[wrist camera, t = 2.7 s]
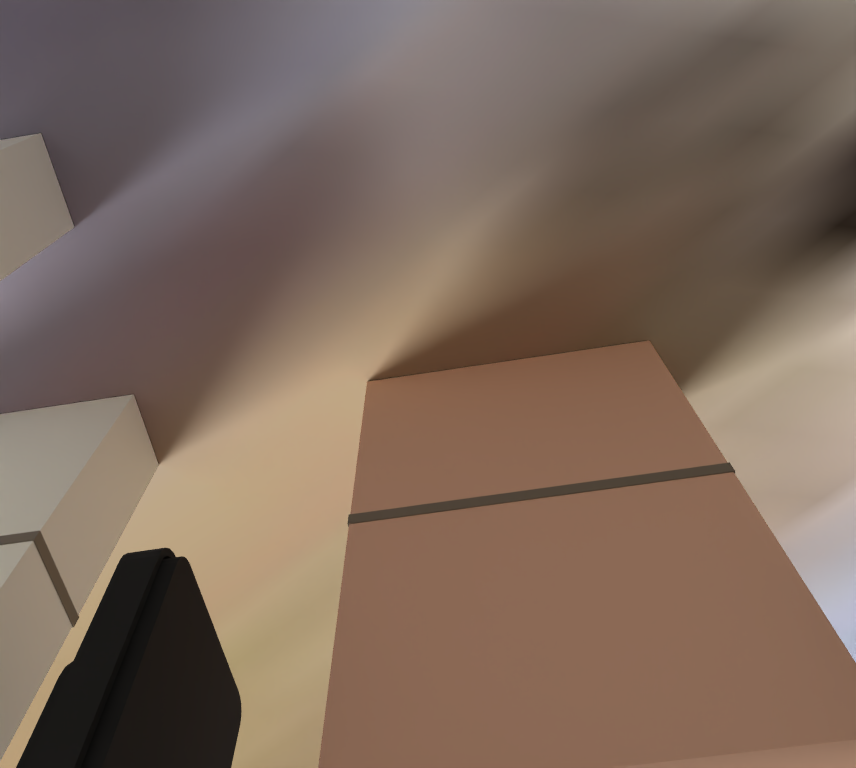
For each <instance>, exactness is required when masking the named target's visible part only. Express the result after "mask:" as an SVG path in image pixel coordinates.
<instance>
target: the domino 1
mask: <svg viewBox="0 0 856 768" xmlns="http://www.w3.org/2000/svg"><path fill="white" fill-rule="evenodd" d="M73 228H74V225H73V222H72V219H71V216H70V213H69V211H68V208H67V205H66V202H65V199H64V197H63V194H62V191H61V188H60V185H59V182H58V180H57V177H56V174H55V171H54V168H53V166H52V163H51V160H50V157H49V154H48V152H47V149H46V146H45V143H44V140H43V137H42V135H41V133H39V134H33V135H27V136H21V137H15V138H9V139H3V140H0V281H1V280H2V279H4V278H5V277H7V276H8V275H9V274H11V273H12V272H13V271H15V270H16V269H18V268H19V267H20V266H22V265H23V264H24V263H26V262H27V261H29V260H30V259H31V258H33V257H34V256H35V255H37V254H38V253H40V252H41V251H42V250H44V249H45V248H47V247H48V246H49V245H51V244H52V243H53V242H55V241H56V240H58V239H59V238H60V237H62V236H63V235H64V234H66V233H67V232H69V231H70V230H71V229H73Z"/></svg>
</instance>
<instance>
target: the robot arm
mask: <svg viewBox="0 0 856 768" xmlns="http://www.w3.org/2000/svg"><path fill="white" fill-rule="evenodd" d="M240 722H241V700H240V695H239V691H238V689H237V686H236V684H235V681H234V678H233V676H232V673H231V671H230V668H229V665H228V663H227V660H226V657H225V655H224V652H223V650H222V647H221V644H220V642H219V639H218V637H217V634H216V631H215V629H214V626H213V623H212V621H211V618H210V616H209V613H208V610H207V608H206V605H205V603H204V600H203V597H202V595H201V592H200V589H199V587H198V584H197V582H196V579H195V576H194V574H193V571H192V569H191V566H190V564H189V562H188V560H187V559H186V558H185V557H175V555H174V553H173V552H172V551H171V550H170V549H169V548H161V549H154V550H147V551H140V552H132V553H127V554H125V555H123V556H122V558H121V559H120V561H119V563H118V565H117V568H116V570H115V572H114V574H113V576H112V578H111V581H110V583H109V585H108V587H107V589H106V591H105V594H104V596H103V598H102V600H101V602H100V604H99V607H98V609H97V611H96V613H95V615H94V618H93V620H92V622H91V624H90V626H89V628H88V631H87V633H86V635H85V637H84V639H83V641H82V644H81V646H80V648H79V650H78V652H77V655H76V657H75V659H74V661H73V662H71V663H70V664H69V665H67V666H66V667H65V668H64V670H63V671H62V673H61V675H60V676H59V678H58V680H57V682H56V684H55V686H54V688H53V690H52V693H51V695H50V697H49V699H48V701H47V703H46V705H45V707H44V710H43V712H42V714H41V716H40V718H39V720H38V722H37V724H36V727H35V729H34V731H33V733H32V735H31V737H30V739H29V742H28V744H27V746H26V748H25V750H24V752H23V754H22V756H21V759H20V761H19V763H18V765H17V767H16V768H231V765H232V760H233V755H234V751H235V746H236V741H237V736H238V732H239V727H240Z"/></svg>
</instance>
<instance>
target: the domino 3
mask: <svg viewBox="0 0 856 768" xmlns="http://www.w3.org/2000/svg"><path fill="white" fill-rule="evenodd" d="M348 527H349V530H348V537H347V545H346V553H345V561H344V569H343V577H342V585H341V593H340V601H339V608H338V616H337V624H336V632H335V640H334V648H333V656H332V664H331V672H330V679H329V687H328V695H327V703H326V711H325V719H324V727H323V735H322V743H321V751H320V758H319V766H318V768H856V663H855V661H854V660H853V658H852V656H851V655H850V653H849V652H848V650H847V649H846V647H845V645H844V644H843V642H842V641H841V639H840V638H839V636H838V635H837V633H836V631H835V630H834V628H833V627H832V625H831V624H830V622H829V620H828V619H827V617H826V616H825V614H824V613H823V611H822V610H821V608H820V606H819V605H818V603H817V602H816V600H815V599H814V597H813V595H812V594H811V592H810V591H809V589H808V588H807V586H806V585H805V583H804V581H803V580H802V578H801V577H800V575H799V574H798V572H797V570H796V569H795V567H794V566H793V564H792V563H791V561H790V560H789V558H788V556H787V555H786V553H785V552H784V550H783V549H782V547H781V545H780V544H779V542H778V541H777V539H776V538H775V536H774V534H773V533H772V531H771V530H770V528H769V527H768V525H767V524H766V522H765V520H764V519H763V517H762V516H761V514H760V513H759V511H758V509H757V508H756V506H755V505H754V503H753V502H752V500H751V499H750V497H749V495H748V494H747V492H746V491H745V489H744V488H743V486H742V484H741V483H740V481H739V480H738V478H737V477H736V475H735V470H734V469H733V467H732V466H731V464H730V462H729V463H727V461H726V459H725V458H724V456H723V455H722V453H721V452H720V450H719V449H718V447H717V445H716V444H715V442H714V441H713V439H712V438H711V436H710V434H709V433H708V431H707V430H706V428H705V427H704V425H703V424H702V422H701V420H700V419H699V417H698V416H697V414H696V413H695V411H694V409H693V408H692V406H691V405H690V403H689V402H688V400H687V399H686V397H685V395H684V394H683V392H682V391H681V389H680V388H679V386H678V384H677V383H676V381H675V380H674V378H673V377H672V375H671V373H670V372H669V370H668V369H667V367H666V366H665V364H664V363H663V361H662V359H661V358H660V356H659V355H658V353H657V352H656V350H655V348H654V347H653V345H652V344H651V342H650V341H642V342H635V343H628V344H621V345H614V346H608V347H601V348H594V349H587V350H580V351H573V352H567V353H560V354H553V355H546V356H539V357H532V358H526V359H519V360H512V361H505V362H498V363H491V364H485V365H478V366H471V367H464V368H457V369H450V370H444V371H437V372H430V373H423V374H416V375H409V376H403V377H396V378H389V379H382V380H375V381H368V382H367V388H366V395H365V403H364V411H363V419H362V427H361V435H360V443H359V451H358V459H357V466H356V474H355V482H354V490H353V498H352V506H351V514H349V517H348Z"/></svg>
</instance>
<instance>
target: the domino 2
mask: <svg viewBox="0 0 856 768" xmlns="http://www.w3.org/2000/svg"><path fill="white" fill-rule="evenodd" d="M158 465H159V464H158V462H157V459H156V456H155V453H154V450H153V447H152V445H151V442H150V439H149V436H148V433H147V430H146V428H145V425H144V422H143V419H142V416H141V414H140V411H139V408H138V405H137V402H136V399H135V397H134V394H133V395H126V396H119V397H112V398H106V399H99V400H92V401H85V402H78V403H72V404H65V405H58V406H51V407H45V408H38V409H31V410H24V411H17V412H11V413H4V414H0V760H1V759H2V757H3V755H4V753H5V751H6V749H7V747H8V746H9V744H10V742H11V740H12V738H13V736H14V734H15V732H16V731H17V729H18V727H19V725H20V723H21V721H22V719H23V718H24V716H25V714H26V712H27V710H28V708H29V706H30V704H31V703H32V701H33V699H34V697H35V695H36V693H37V691H38V690H39V688H40V686H41V684H42V682H43V680H44V678H45V676H46V675H47V673H48V671H49V669H50V667H51V665H52V663H53V662H54V660H55V658H56V656H57V654H58V652H59V650H60V648H61V647H62V645H63V643H64V641H65V639H66V637H67V635H68V634H69V632H70V630H71V628H72V627H74V626H75V624H76V622H77V620H78V618H79V616H78V615H79V613H80V611H81V609H82V607H83V606H84V604H85V602H86V600H87V598H88V596H89V594H90V592H91V591H92V589H93V587H94V585H95V583H96V581H97V579H98V577H99V576H100V574H101V572H102V570H103V568H104V566H105V564H106V563H107V561H108V559H109V557H110V555H111V553H112V551H113V549H114V548H115V546H116V544H117V542H118V540H119V538H120V536H121V535H122V533H123V531H124V529H125V527H126V525H127V523H128V521H129V520H130V518H131V516H132V514H133V512H134V510H135V508H136V507H137V505H138V503H139V501H140V499H141V497H142V495H143V493H144V492H145V490H146V488H147V486H148V484H149V482H150V480H151V479H152V477H153V475H154V473H155V471H156V469H157V467H158Z"/></svg>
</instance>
